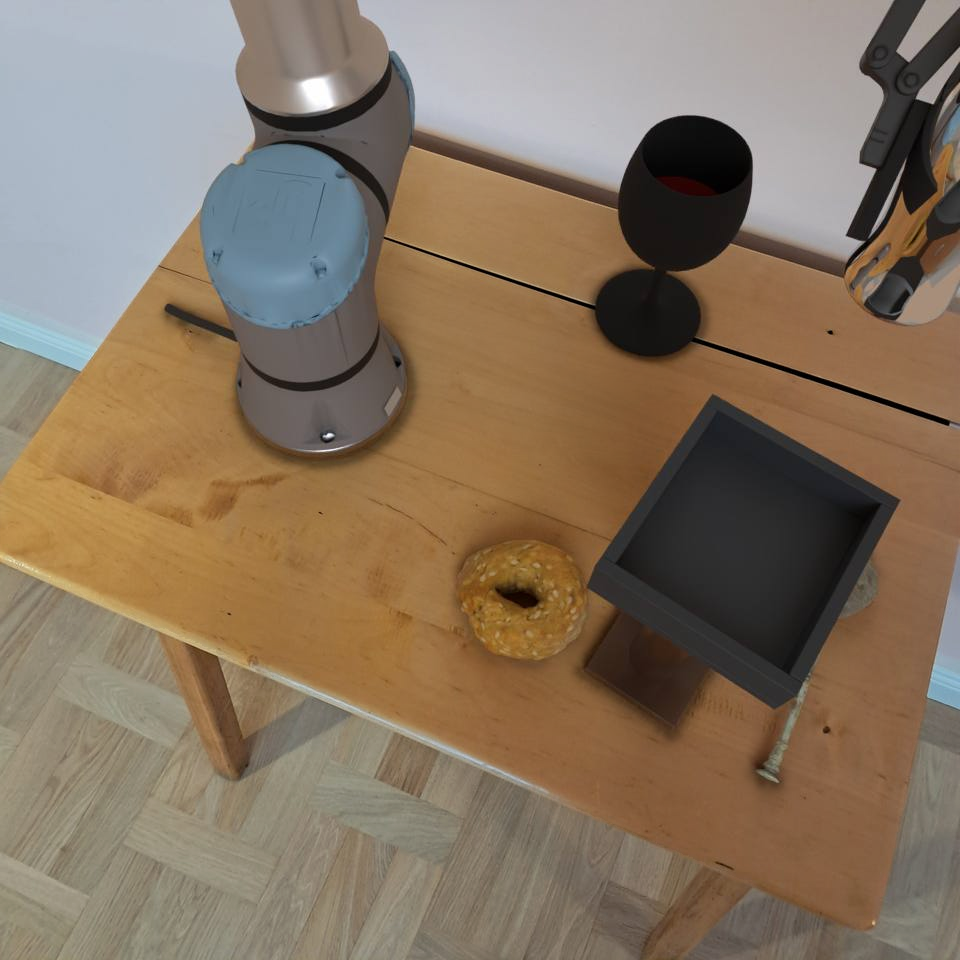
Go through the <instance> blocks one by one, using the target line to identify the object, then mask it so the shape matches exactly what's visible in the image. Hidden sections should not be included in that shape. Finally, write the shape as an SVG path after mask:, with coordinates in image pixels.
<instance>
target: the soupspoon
mask: <svg viewBox="0 0 960 960" xmlns="http://www.w3.org/2000/svg"><path fill="white" fill-rule="evenodd" d="M879 579H880V578H879V573H878V570H877V568H876V565H875V564H874V562H873V561H872V560H871V558H870V559H869V561H868V563H867V565H866V566H865V568H864V570H863V572H862V574H861V576H860V578H859V580H858V582H857V583H856V585H855V587H854V589H853V591H852V593H851V595H850V597H849V598H848V600H847V602H846V604H845V606H844V608H843V610H842V612H841V614H840V615H839V617H838V619H839V618H848V617H849V616H852V615H855V614H857V613H859V612H860V611H862V610H864V609H865V608H867V607H868V606H869V605H870V604H871V603H873V601H874V599H875V597H877V594H878V591H879V584H880V583H879V582H880V581H879ZM821 651H822V650H821ZM821 651H820V653H819V655H818V657H817V659H816V661H815V663H814V664H813V666H812V668H811V670H810V672H809V674H808V676H807V678H806V680H805V681H804V683H803V685H802V687H801V689H800V691H799V693H798V695H797V696H796V697H794V698H793V699H792V701H791V705H790V708H789V710H788V712H787V716H786V719H785V721H784V723H783V724H784V725H783V727H782V731H781V734H780V736H779V737H778V738H776V739H775V740H774V741H775V746H774V747H773V748H772V749H771V750H770V752H769V754H768V756H767V760H766V761H764V762H763V764H762V765H763V767H764V768H763V769H758V768H757V769H755V772H756V773H757V774H759V775H760V776H762V777H764V779H767V780H769V781H771V782H774V783H776V784H779V783H780V782H779V780H778V779H777V777H776V775H775V774H778V773H779V771H780V765H781V763H782V761H783V758H784V750H787V748H788V742H789V739H790V737H791V734H792V733H793V730H794V727H795V724H796V722H797V720H798V717H799V714H800V711H801V709H802V706H803V703H804V701H805V698H806V696H807V691H808V690H809V686H810V683H811V680H812V677H813V675H814V671H815V668H816V665H817V663H818V660H819V657H820V654H821Z"/></svg>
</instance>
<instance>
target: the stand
mask: <svg viewBox="0 0 960 960" xmlns="http://www.w3.org/2000/svg"><path fill="white" fill-rule="evenodd" d="M710 669H711V668H710V667H708V666H706V665H705V664H703V663H702V662H700V661H699V660H697V659H696V658H694V657H693V656H691V655H690V654H688V653H686V652H685V651H683V650H682V649H680V648H679V647H677V646H676V645H674V644H673V643H671V642H669V641H668V640H666V639H665V638H663V637H662V636H660V635H659V634H657V633H656V632H654V631H653V630H651V629H649V628H648V627H646V626H645V625H643V624H642V623H640V622H639V621H637V620H636V619H634V618H633V617H631V616H629V615H628V614H626V613H625V612H623V611H622V610H621V612H620V613H619V615H618V617H617V619H616V620H615V621H614V623H613V624H612V626H611V627H610V629H609V631H608V632H607V633H606V635H605V637H604V639H603V640H602V642H601V643H600V644H599V646H598V647H597V649H596V650H595V652H594V654H593V655H592V657H591V658H590V660H589V661H588V662H587V664H586V666H585V668H584V669H583V672H584V673H585V674H587V675H588V676H590V677H591V678H593V679H594V680H596V681H598V682H599V683H600V684H601V685H603V686H605V687H606V688H607V689H609V690H611V691H612V692H614V693H615V694H616V695H618V696H619V697H620V698H622V699H624V700H625V701H627V702H628V703H629V704H631V705H633V706H634V707H636V708H637V709H638V710H640V711H642V712H643V713H645V714H646V715H648V716H649V717H650V718H652V719H653V720H655V721H656V722H658V723H659V724H660V725H662V726H664V727H665V728H667V729H668V730H669V731H672V730H674V729H675V728H676V726H677V724H678V722H679V721H680V719H681V718H682V716H683V714H684V712H685V710H686V709H687V707H688V706H689V704H690V702H691V700H692V699H693V697H694V695H695V694H696V692H697V690H698V688H699V687H700V685H701V683H702V682H703V680H704V678H705V676H706V675H707V673H708V671H709V670H710Z"/></svg>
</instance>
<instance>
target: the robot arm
mask: <svg viewBox="0 0 960 960" xmlns="http://www.w3.org/2000/svg"><path fill="white" fill-rule="evenodd" d="M926 1H927V0H892V3H891V4H890V6H889V8H888V9H887V11H886V13H885V15H884V17H883V18H882V20H881V22H880V23H879V26H878V27H877V29H876V31H875V32H874V34H873V35H872V37H871V39H870V41H869V43H868V44H867V46H866V48H865V50H864V52H863V54H862V55H861V57H860V59H859V61H858V69H859V70H860V72H861V74H863V75H864V76H866V77H869V78H870V79H871V80H873V81H874V82H875V83H876V84H877V85H878V86H879V87H880V88H881V90H882V94H883V97H882V98H883V99H882V101H881V105H880V106H879V109H878V111H877V113H876V115H875V118H874V120H873V122H872V124H871V127H870V128H869V131H868V133H867V135H866V137H865V140H864V142H863V144H862V146H861V149H860V151H859V158H858V159H859V160H858V163H859V164H860V165H863V166H866V167H869V168H872V169H875V171H874V174H873V176H872V177H871V179H870V182H869V184H868V187H867V189H866V191H865V192H864V195H863V197H862V199H861V201H860V204H859V206H858V208H857V210H856V212H855V214H854V216H853V219H852V221H851V223H850V225H849V227H848V229H847V231H846V233H845V237H847V238H850V239H853V240H856V241H859V242H862V241H867V240H868V238H869V236H870V233H871V232H872V230H873V229H874V228H875V226H876V223H877V221H878V219H879V216H880V215H881V212H882V211H883V209H884V206H885V204H886V202H887V200H888V198H889V196H890V194H891V192H892V189H893V188H894V186H895V184H896V182H897V180H898V177H899V174H900V171H901V169H902V166H903V164H904V162H905V160H906V158H907V156H908V154H909V152H910V150H911V147H912V145H913V143H914V141H915V139H916V137H917V135H918V133H919V131H920V129H921V127H922V124H923V122H924V120H925V118H926V116H927V114H928V111H929V109H930V107H931V105H932V104H931V103H932V102H928V101H925V100H922V99H918V98H917V97H918V95H919V93H920V92H921V91H920V90H921V89H922V88H923V87H924V86H925V85H926V84H927V83H928V82H929V81H930V80H931V79H932V77H933V76H934V75H936V73H937V72H938V71H939V70H940V69H941V68H942V67H943V66H944V65H945V63H947V61H949V59H951V57H952V56H953V55H954V54H955V53H956V52H957V50H959V48H960V6H959V7H957V9H956V10H955V11H954V12H953V13H952V15H950V17H948V19H947V20H946V21H945V22H944V23H943V25H941V26H940V28H939V29H938V30H937V31H936V32H935V33H934V34H933V35H932V37H931V38H930V39H929V40H928V41H927V42H925V44H924V45H923V47H921V48H920V50H919V51H918V52H917V53H916V54H915V55H914V56H913V58H911V59H910V60H909V61H908V60H907V59H906V58H905V57H904V56H902V55H901V54H900V53H899V52H898V49H899V47H900V46H901V45H902V42H903V41H904V39H905V37H906V36H907V34H908V32H909V31H910V29H911V27H912V25H913V23H914V22H915V20H916V18H918V17H917V16H918V15H919V13H920V12H921V10H922V8H923V6H924V4H925V3H926ZM229 3H230V6H231V9H232V11H233V14H234V17H235V20H236V22H237V26H238V28H239V31H240V33H241V36H242V39H243V43H244V45H243V48H242V49H241V51H240V52H239V54H238V57H237V60H236V63H235V79H236V84H237V86H238V89H239V91H240V94H241V97H242V99H243V102H244V105H245V107H246V109H247V113H248V115H249V119H250V121H251V123H252V125H253V129H254V143H253V145H252V148H251V151H248V152H246V153H245V154H244V155H243V157H242V159H243V162H241V163H240V164H239V163H238V164H236V163H233V162H231V163H229V164H228V165H226V166H225V167H224V168H223V169H222V170H221V171H220V172H219V173H218V175H217V176H216V177H215V178H214V180H213V181H212V183H211V184H210V186H209V188H208V190H207V192H206V194H205V196H204V198H203V201H202V205H201V209H200V215H199V238H200V242H201V247H202V251H203V260H204V263H205V268H206V270H207V273H208V277H209V280H210V282H211V284H212V285H213V287H214V289H215V291H216V293H217V294H218V296H219V299H220V301H221V304H222V306H223V309H224V311H225V314H226V317H227V320H228V321H229V324H230V326H231V328H232V329H231V328H227V327H225V326H223V325H220V324H218V323H215V322H214V321H210V320H208V319H204V318H203V317H200V316H197V315H195V314H192V313H190V312H188V311H185V310H184V309H181V308H179V307H177V306H175V305H173V304H171V303H167V304H165V306H164V309H163V310H164V312H165V313H167V314H169V315H171V316H173V317H176V318H177V319H179V320H181V321H184V322H186V323H188V324H191V325H193V326H196V327H198V328H201V329H203V330H206V331H209V332H211V333H213V334H216V335H219V336H221V337H223V338H226V339H228V340H231V341H233V342H235V343H237V344H238V347H239V349H240V353H239V363H238V366H237V371H236V378H235V379H236V380H235V389H236V398H237V401H238V404H239V406H240V407H239V408H240V410H241V412H242V414H243V416H244V419H245V421H246V423H247V425H248V426H249V428H250V429H251V430H252V432H253V433H254V434H255V435H256V437H257V438H259V439H260V441H262V442H263V443H264V444H266V445H267V446H268V447H269V448H271V449H273V450H275V451H277V452H279V453H282V454H283V455H286V456H288V457H292V458H295V459H300V460H306V461H329V460H331V461H332V460H336V459H341V458H345V457H348V456H352V455H355V454H356V453H359V452H361V451H363V450H365V449H367V448H369V447H370V446H372V445H374V444H375V443H376V442H378V441H379V440H380V439H381V438H382V437H384V436H385V435H386V434H387V433H388V432H389V431H390V429H392V427H393V426H394V424H395V423H396V421H397V420H398V419H399V416H400V414H401V413H402V410H403V409H404V406H405V402H406V398H407V393H408V392H407V390H408V379H407V368H406V362H405V358H404V355H403V353H402V350H401V349H400V346H399V345H398V343H397V342H396V340H395V339H394V337H393V336H392V334H391V333H390V332H389V330H387V328H386V327H385V325H384V323H382V321H381V320H380V319H379V311H378V303H377V302H378V301H377V296H376V287H375V286H376V272H377V267H378V263H379V259H380V255H381V252H382V247H383V242H384V239H385V236H386V231H387V226H388V223H389V221H390V217H391V212H392V209H393V206H394V201H395V198H396V193H397V190H398V186H399V182H400V178H401V174H402V171H403V170H402V169H403V167H404V164H405V159H406V156H407V154H408V152H409V150H410V147H411V144H412V141H413V134H414V132H415V126H416V125H415V124H416V97H415V95H416V94H415V90H414V85H413V81H412V78H411V76H410V74H409V71H408V69H407V67H406V64H405V63H404V62H403V60H402V58H401V57H400V56H399V55H398V53H397V52H396V51H395V50H390V49H389V46H388V42H387V39H386V37H385V35H384V32H383V31H382V30H381V29H380V27H379V26H378V25H377V24H376V23H374V22H373V21H372V20H370V19H369V18H367V17H365V16H364V15H361V11H360V7H359V2H358V0H229Z"/></svg>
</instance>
